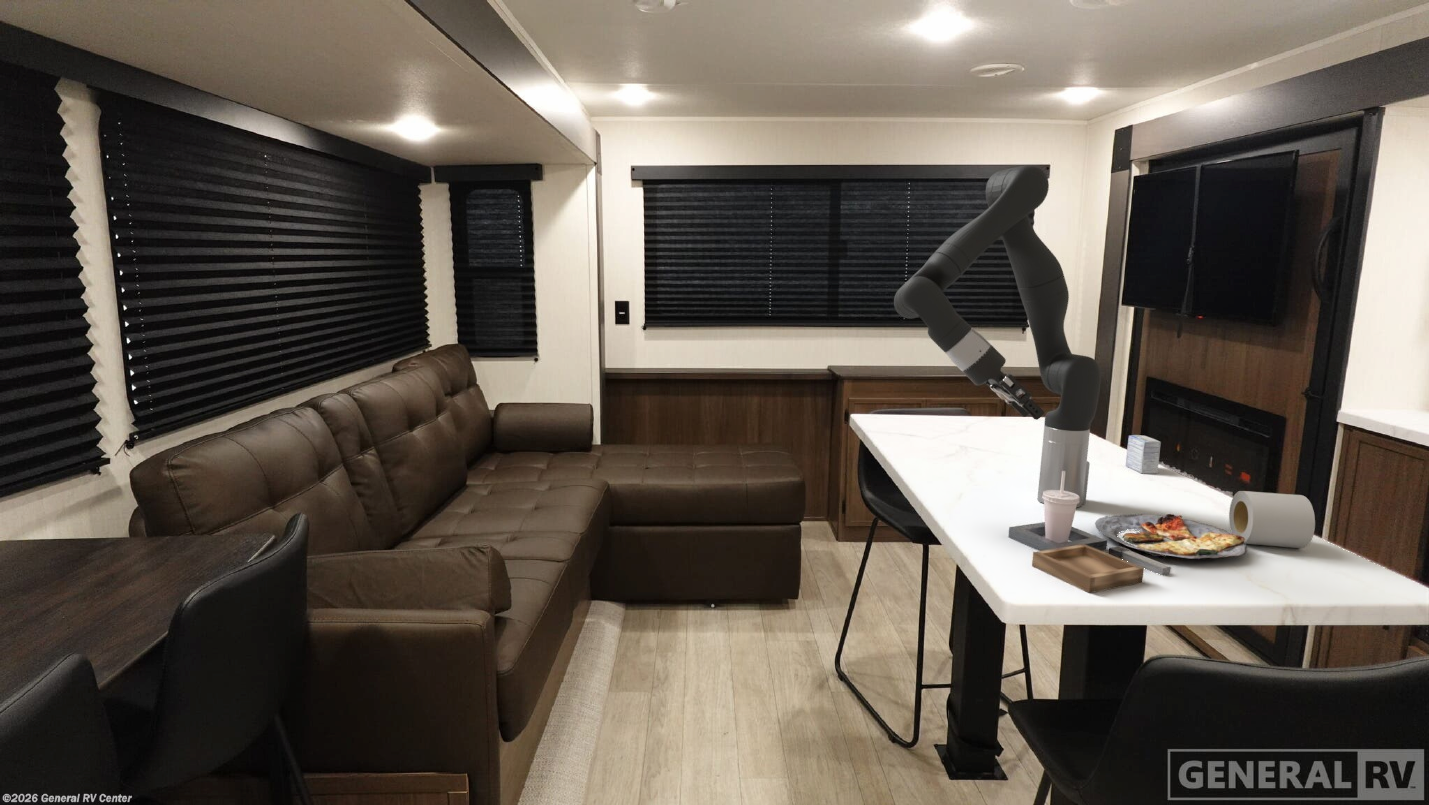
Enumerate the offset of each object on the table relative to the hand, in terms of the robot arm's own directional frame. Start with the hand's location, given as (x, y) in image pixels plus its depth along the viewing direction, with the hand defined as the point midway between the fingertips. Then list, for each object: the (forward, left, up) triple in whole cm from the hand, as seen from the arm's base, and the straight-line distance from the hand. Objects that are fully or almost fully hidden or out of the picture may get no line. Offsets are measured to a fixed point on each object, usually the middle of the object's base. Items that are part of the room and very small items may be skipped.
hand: (1034, 415), depth 149 cm
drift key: (-5, +23, -23) cm, 33 cm away
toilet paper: (-38, +24, -23) cm, 50 cm away
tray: (+8, +23, -23) cm, 33 cm away
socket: (+1, +10, -23) cm, 25 cm away
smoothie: (+1, +10, -23) cm, 25 cm away
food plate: (-20, +17, -23) cm, 35 cm away
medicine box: (-65, -25, -23) cm, 73 cm away
